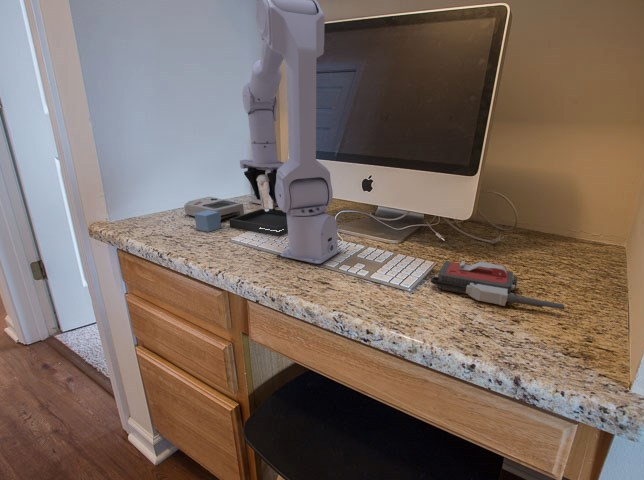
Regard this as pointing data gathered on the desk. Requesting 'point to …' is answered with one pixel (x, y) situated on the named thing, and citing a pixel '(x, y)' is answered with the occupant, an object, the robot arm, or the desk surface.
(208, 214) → the blue block
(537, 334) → the desk surface
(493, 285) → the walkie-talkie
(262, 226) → the tray
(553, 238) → the desk surface
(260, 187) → the milkshake
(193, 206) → the handheld gaming device
